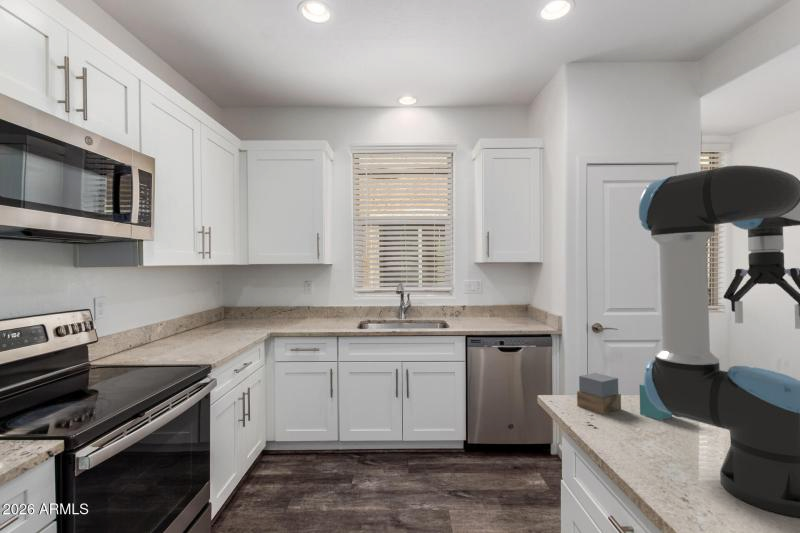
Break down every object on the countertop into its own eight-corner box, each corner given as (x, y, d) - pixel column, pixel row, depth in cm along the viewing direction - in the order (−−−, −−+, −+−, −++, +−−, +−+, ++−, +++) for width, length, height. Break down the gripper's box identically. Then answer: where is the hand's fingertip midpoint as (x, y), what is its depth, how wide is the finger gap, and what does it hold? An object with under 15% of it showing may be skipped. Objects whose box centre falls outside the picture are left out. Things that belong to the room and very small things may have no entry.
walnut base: (603, 415, 119) (603, 398, 119) (577, 406, 127) (577, 391, 127) (621, 410, 124) (620, 394, 124) (594, 402, 132) (594, 387, 132)
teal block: (661, 420, 114) (660, 389, 114) (640, 414, 119) (639, 384, 119) (672, 416, 117) (671, 386, 117) (650, 410, 122) (650, 381, 122)
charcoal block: (602, 398, 120) (602, 381, 120) (579, 391, 127) (579, 376, 127) (618, 394, 124) (618, 378, 124) (595, 387, 131) (594, 372, 131)
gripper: (832, 249, 103) (835, 330, 103) (722, 254, 126) (724, 320, 126) (819, 248, 100) (822, 332, 100) (709, 253, 123) (710, 321, 122)
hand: (767, 325), depth 113 cm, fingers open, 13 cm apart
